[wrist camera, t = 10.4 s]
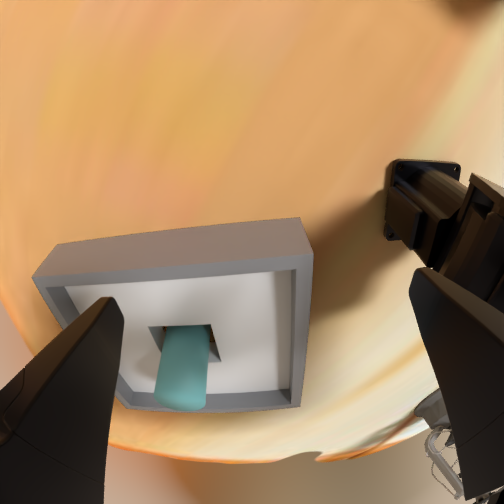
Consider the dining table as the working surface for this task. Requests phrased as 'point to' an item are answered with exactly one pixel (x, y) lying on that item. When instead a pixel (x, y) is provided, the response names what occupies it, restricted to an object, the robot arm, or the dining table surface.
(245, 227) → the box
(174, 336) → the peg
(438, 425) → the lantern
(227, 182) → the dining table surface
